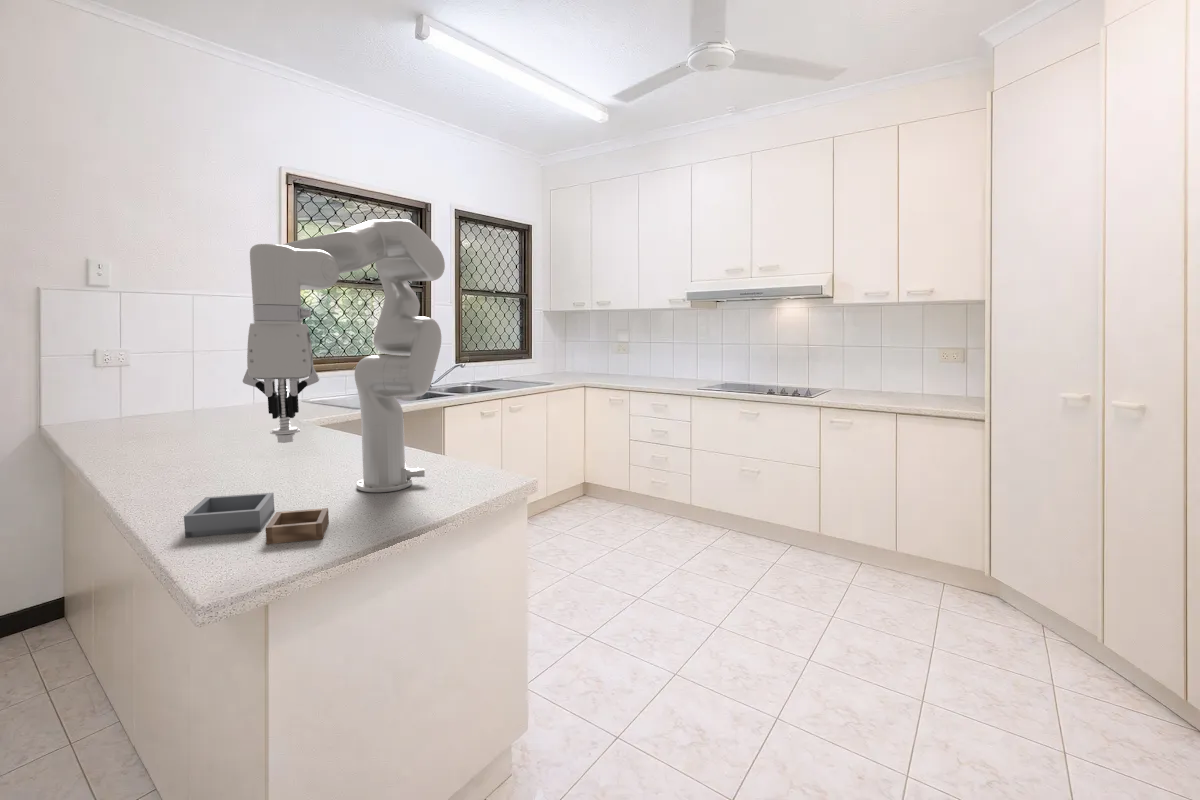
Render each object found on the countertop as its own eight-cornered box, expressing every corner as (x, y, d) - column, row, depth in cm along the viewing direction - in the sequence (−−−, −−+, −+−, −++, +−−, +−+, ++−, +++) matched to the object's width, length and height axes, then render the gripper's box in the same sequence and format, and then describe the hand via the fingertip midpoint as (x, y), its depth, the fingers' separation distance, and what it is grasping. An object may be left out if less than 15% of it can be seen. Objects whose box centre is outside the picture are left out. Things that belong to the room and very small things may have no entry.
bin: (274, 511, 118) (273, 492, 118) (260, 531, 107) (259, 510, 107) (207, 516, 115) (205, 497, 114) (185, 537, 103) (183, 516, 103)
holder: (328, 522, 112) (328, 508, 112) (322, 539, 104) (321, 523, 103) (277, 527, 109) (276, 512, 109) (266, 544, 101) (265, 527, 100)
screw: (266, 441, 105) (293, 437, 108) (277, 445, 102) (305, 441, 106) (261, 371, 103) (289, 369, 107) (273, 372, 100) (301, 371, 104)
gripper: (329, 316, 108) (333, 412, 111) (232, 315, 103) (239, 415, 105) (324, 316, 101) (329, 418, 104) (220, 314, 96) (228, 422, 98)
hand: (284, 416), depth 104 cm, fingers closed on screw, 2 cm apart
